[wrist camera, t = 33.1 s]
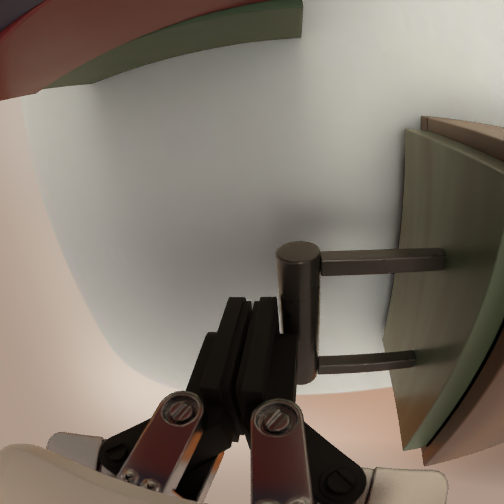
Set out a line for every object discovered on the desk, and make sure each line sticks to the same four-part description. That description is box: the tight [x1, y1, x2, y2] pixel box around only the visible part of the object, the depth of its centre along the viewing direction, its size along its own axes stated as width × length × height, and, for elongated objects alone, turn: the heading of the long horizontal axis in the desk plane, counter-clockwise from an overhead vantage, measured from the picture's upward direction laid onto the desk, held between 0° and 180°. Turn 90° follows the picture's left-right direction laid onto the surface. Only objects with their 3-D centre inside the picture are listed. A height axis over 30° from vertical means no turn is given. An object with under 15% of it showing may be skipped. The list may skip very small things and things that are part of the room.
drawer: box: [276, 129, 504, 451], centre depth 10 cm, size 18×12×8 cm
